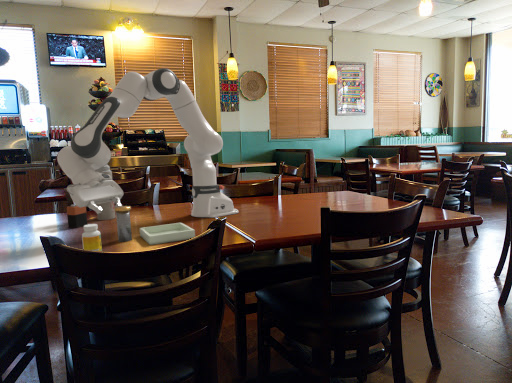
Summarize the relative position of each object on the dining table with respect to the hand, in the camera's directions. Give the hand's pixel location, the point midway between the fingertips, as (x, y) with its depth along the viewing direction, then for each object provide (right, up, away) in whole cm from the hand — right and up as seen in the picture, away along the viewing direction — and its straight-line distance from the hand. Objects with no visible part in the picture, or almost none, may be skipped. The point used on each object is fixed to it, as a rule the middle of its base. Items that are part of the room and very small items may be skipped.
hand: (110, 209), depth 137 cm
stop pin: (+6, -11, -1) cm, 12 cm away
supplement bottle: (+2, -13, -19) cm, 23 cm away
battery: (-24, -9, +26) cm, 36 cm away
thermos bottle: (-18, -6, +43) cm, 47 cm away
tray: (+20, -10, +2) cm, 22 cm away
